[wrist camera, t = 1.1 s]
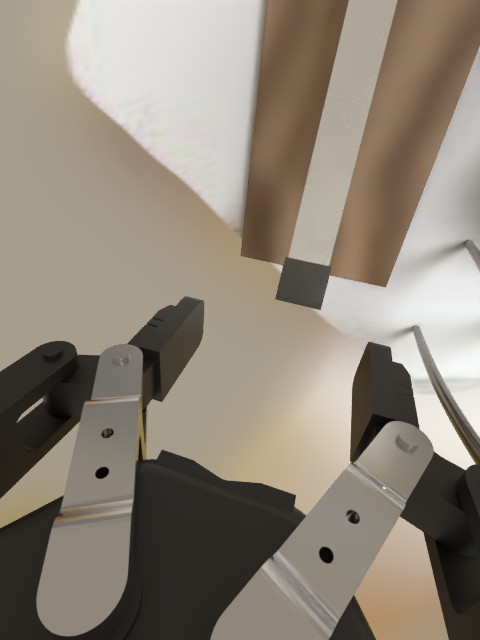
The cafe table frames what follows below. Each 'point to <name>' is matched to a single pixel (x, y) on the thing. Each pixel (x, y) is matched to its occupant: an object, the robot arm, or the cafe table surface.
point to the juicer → (469, 437)
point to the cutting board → (379, 133)
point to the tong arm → (336, 150)
